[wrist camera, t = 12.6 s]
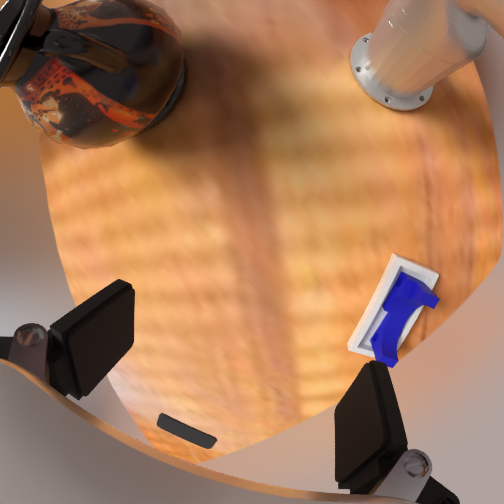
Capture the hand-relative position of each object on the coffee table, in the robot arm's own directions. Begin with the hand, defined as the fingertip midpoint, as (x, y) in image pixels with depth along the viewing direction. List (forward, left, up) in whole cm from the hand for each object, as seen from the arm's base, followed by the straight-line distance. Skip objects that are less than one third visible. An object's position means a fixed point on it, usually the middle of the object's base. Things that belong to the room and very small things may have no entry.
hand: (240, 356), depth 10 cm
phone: (+56, -5, -29) cm, 63 cm away
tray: (+7, +20, -28) cm, 35 cm away
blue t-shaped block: (+7, +20, -28) cm, 35 cm away
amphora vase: (-14, -27, -29) cm, 42 cm away
